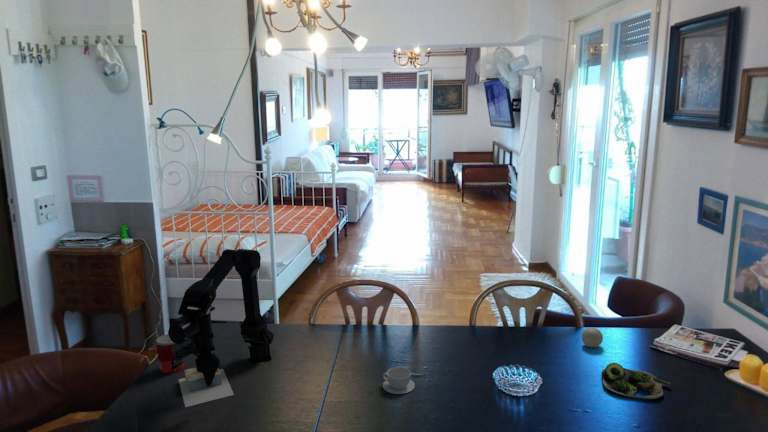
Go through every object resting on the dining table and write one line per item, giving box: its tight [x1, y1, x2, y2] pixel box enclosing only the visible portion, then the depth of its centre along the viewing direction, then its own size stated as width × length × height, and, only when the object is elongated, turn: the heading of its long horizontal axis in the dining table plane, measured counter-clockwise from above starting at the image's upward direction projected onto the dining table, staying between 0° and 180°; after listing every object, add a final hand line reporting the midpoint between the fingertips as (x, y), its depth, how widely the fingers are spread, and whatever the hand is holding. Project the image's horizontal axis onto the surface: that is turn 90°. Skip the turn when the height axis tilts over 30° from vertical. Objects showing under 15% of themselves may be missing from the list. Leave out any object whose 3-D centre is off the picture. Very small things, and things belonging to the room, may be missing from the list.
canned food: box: [155, 333, 185, 375], centre depth 182 cm, size 8×8×11 cm
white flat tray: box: [178, 368, 235, 408], centre depth 171 cm, size 14×18×1 cm
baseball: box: [581, 327, 604, 349], centre depth 191 cm, size 7×7×7 cm
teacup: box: [382, 366, 416, 395], centre depth 169 cm, size 10×10×5 cm
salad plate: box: [600, 362, 672, 400], centre depth 166 cm, size 19×18×5 cm
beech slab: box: [184, 367, 222, 392], centre depth 173 cm, size 10×4×8 cm
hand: (206, 378), depth 162 cm, fingers open, 9 cm apart
